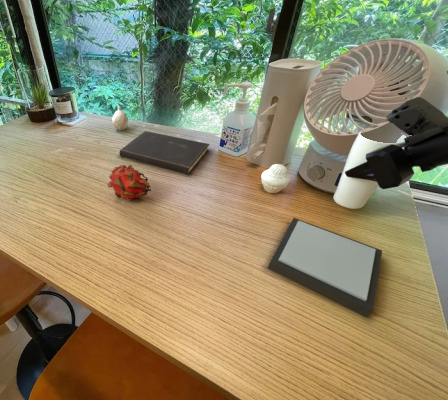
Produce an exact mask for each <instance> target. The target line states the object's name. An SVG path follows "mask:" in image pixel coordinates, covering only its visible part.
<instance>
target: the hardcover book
mask: <svg viewBox="0 0 448 400" xmlns="http://www.w3.org/2000/svg"><path fill="white" fill-rule="evenodd" d="M209 146H210V143H205V142H202V141H197V140H191V139H187V138H182V137H178V136H172V135H167V134H162V133H157V132H152V131H147V130H144V131H143V132H142V133H141V134H139V135H138V136H137V137H136V138H134V139H133V140H131V141H130V142H129V143H128V144H126V145H124V146H123V147H122V148H121V149H119V157H121V158H126V159H129V160H132V161H136V162H140V163H143V164H147V165H151V166H155V167H159V168H162V169H166V170H169V171H173V172H177V173H180V174H184V175H187V176H188V175H190V174H191V173H192V171H193V170H194V169H195V168H196V167H197V166H198V165H199V163H200V162H201V160H202V159H203V158H204V157H205V156H206V154H207V153H208V152H209V149H208V148H209Z"/></svg>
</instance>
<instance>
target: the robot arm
mask: <svg viewBox="0 0 448 400" xmlns="http://www.w3.org/2000/svg"><path fill="white" fill-rule="evenodd" d="M446 74H448V70H447V71H446ZM386 120H387V121H388V122H389V123H390V124H393V125H394V126H395V127H397V129H399V130H400V131H403V133H405V134H406V135H412V136H409V137H406V138H404V141H405V143H406V146H405V147H400V146H396V145H393V144H391V145H388V146H384V147H382V148H381V147H380V148H378V149H376V150H374V151H372V152H369V153H367V154H366V160H367V162H365V163H362V164H360V165H358V166H356V167H354V168H351V169H349V170H347V171H345V174H346V176H347V177H352V178H358V179H365V180H371V181H376V182H377V183H378V187H379V188H380V189H381V190H387V189H393V188H398V187H400V186H402V185H404V184H405V183H407V182H408V181H410V180H412V178H413V176H414V175H415V170H414V168H417V167H418V168H419V169H420V171H421V173H425V172H430V171H433V170H434V169H436V168H438V167H441V166H442V167H443V166H446V165H447V166H448V116H447V115H445V113H444V112H443V111H442V110H440V109H439V108H438V107H436V106H435V105H433V104H432V103H431V102H429V101H428V100H427V99H425V98H424V97H422V96H421V97H420V96H416V97H413V98H411V99H407V100H406V101H405V102H403V103H402V104H401V105H400V106H398V107H397V108H394V109H393V110H392V111H391V112H390V113H389V114H388V115H386Z"/></svg>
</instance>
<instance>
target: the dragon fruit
mask: <svg viewBox="0 0 448 400" xmlns="http://www.w3.org/2000/svg"><path fill="white" fill-rule="evenodd" d="M141 176H142V177H141ZM108 178H109V179H110V181H109V182H108V183H107V184H106V185H107V187H108V188H113V190H114V194H115V196H116V197H117V199H121V198H122V197H123V198H125V199H127V200H130V201H133V202H136V201H140V200H141V198H140V197H141V196H142V197H143V196H147V195H148V193H149V192H152V189H151V188H152V186H151V185H150V183H149V182H148V181H149V178H148V177H147V176H145V174H144V173H143V172H139V170H136V169H135V167H134V166H133V165H131V164H129V165H126V164H120V165H119V166H115V167H114V168H113V169H112V171H111V173H110V174H109V176H108Z"/></svg>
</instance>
